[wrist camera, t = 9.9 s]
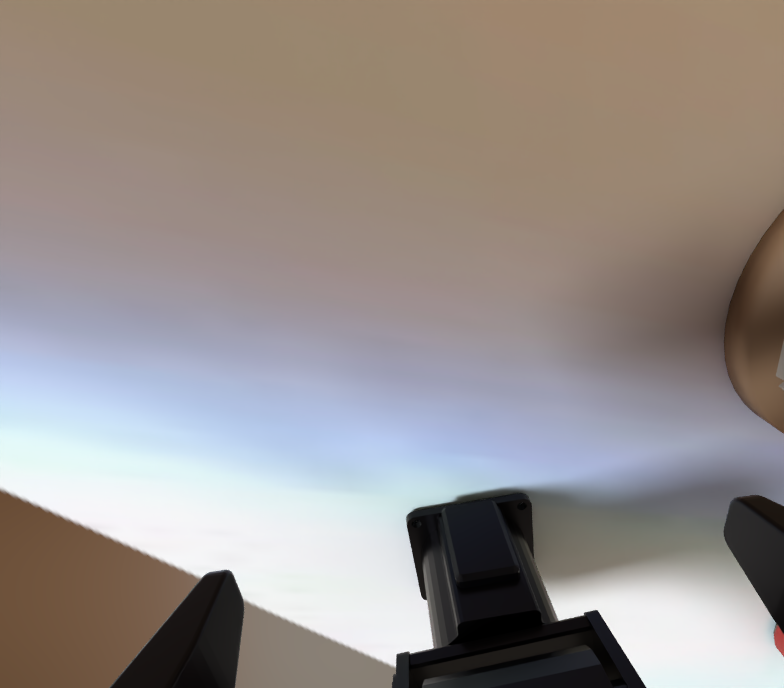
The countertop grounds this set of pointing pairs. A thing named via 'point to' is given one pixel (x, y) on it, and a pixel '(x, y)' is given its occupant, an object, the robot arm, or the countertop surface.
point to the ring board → (759, 329)
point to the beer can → (779, 639)
